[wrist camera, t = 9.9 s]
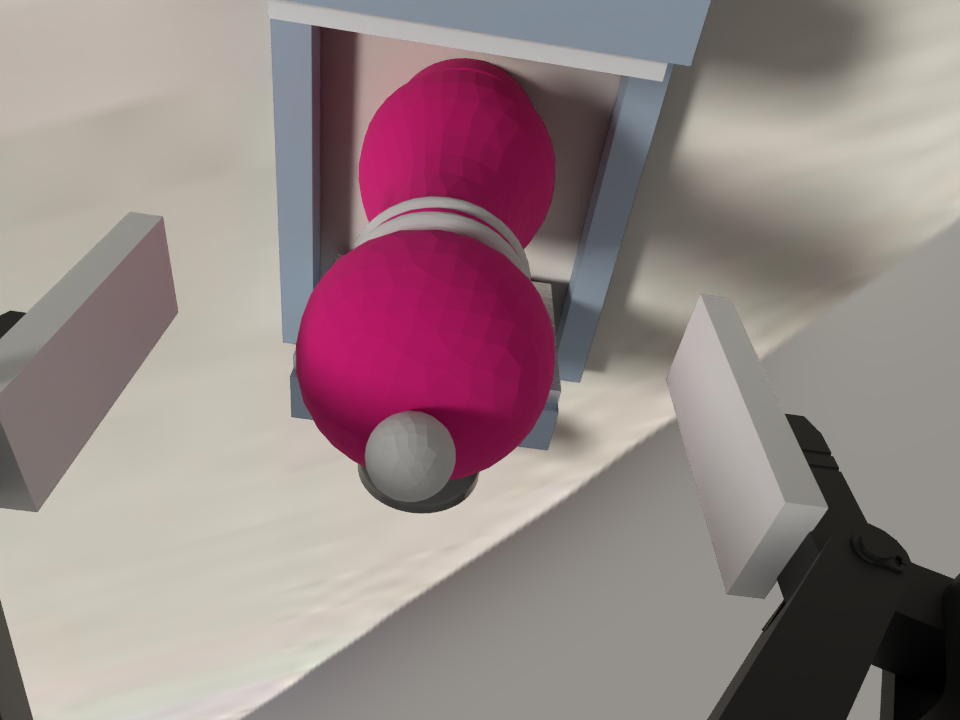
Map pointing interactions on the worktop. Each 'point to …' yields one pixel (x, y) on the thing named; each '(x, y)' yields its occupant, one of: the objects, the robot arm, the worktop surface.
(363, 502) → the worktop surface
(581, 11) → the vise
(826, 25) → the worktop surface
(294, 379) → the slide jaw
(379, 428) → the pepper mill
